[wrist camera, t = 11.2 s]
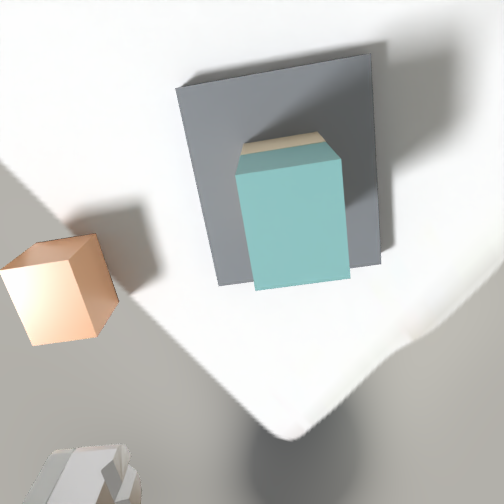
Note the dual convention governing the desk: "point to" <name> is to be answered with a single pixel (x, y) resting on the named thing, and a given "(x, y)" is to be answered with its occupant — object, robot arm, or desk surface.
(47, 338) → the terracotta brick
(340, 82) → the plate
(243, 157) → the teal brick
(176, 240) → the desk surface
